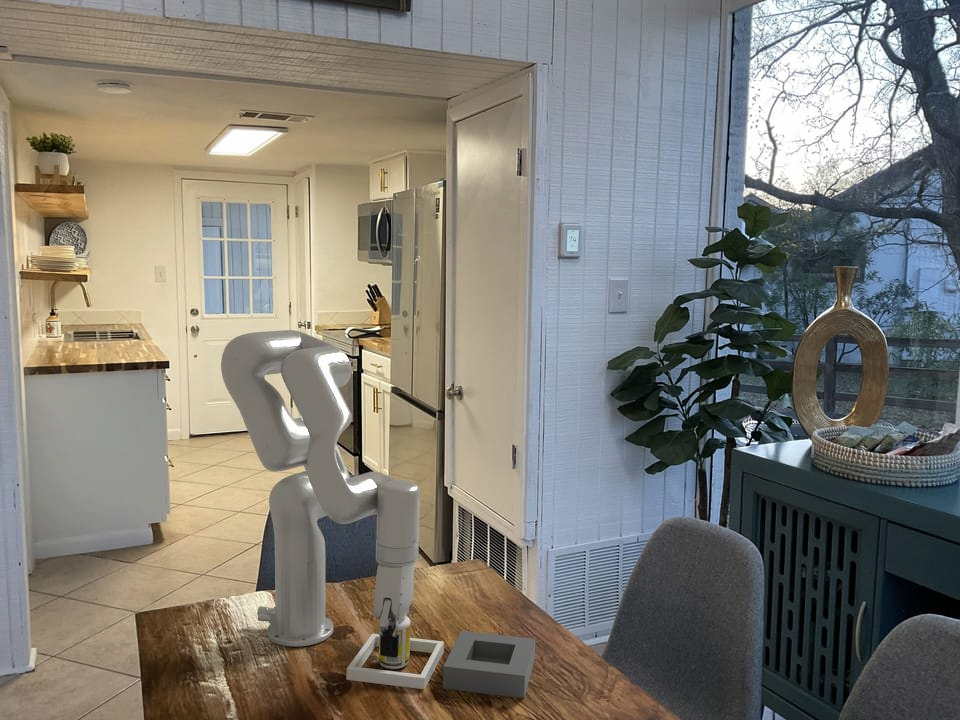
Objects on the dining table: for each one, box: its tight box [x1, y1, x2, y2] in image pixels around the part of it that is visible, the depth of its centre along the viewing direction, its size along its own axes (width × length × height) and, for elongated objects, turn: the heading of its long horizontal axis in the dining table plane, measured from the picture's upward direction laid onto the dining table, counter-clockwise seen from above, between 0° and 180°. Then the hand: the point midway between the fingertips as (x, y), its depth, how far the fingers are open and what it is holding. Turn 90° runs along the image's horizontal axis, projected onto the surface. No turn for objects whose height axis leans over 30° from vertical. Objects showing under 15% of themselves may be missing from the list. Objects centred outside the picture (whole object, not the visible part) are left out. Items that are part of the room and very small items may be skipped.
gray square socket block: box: [442, 630, 536, 699], centre depth 143 cm, size 14×14×4 cm
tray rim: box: [346, 633, 445, 690], centre depth 146 cm, size 14×14×2 cm
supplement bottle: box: [378, 612, 411, 670], centre depth 145 cm, size 6×6×10 cm
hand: (394, 646), depth 146 cm, fingers closed on supplement bottle, 5 cm apart
